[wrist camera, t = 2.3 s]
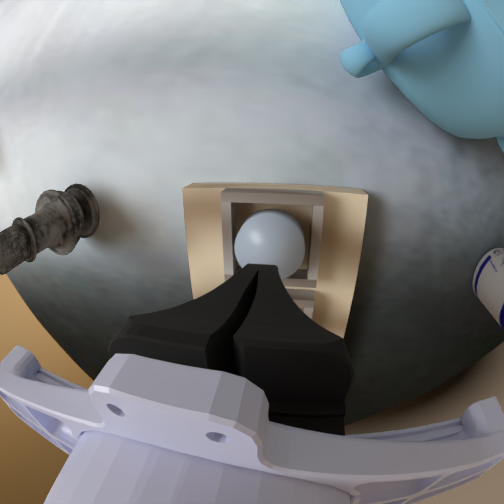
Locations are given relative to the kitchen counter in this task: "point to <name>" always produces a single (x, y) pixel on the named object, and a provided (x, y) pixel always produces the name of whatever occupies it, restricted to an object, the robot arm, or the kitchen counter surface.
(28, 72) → the kitchen counter surface
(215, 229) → the button panel
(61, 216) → the grey chess piece
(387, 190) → the kitchen counter surface
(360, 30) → the decorative pot
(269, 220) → the blue button
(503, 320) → the energy drink
